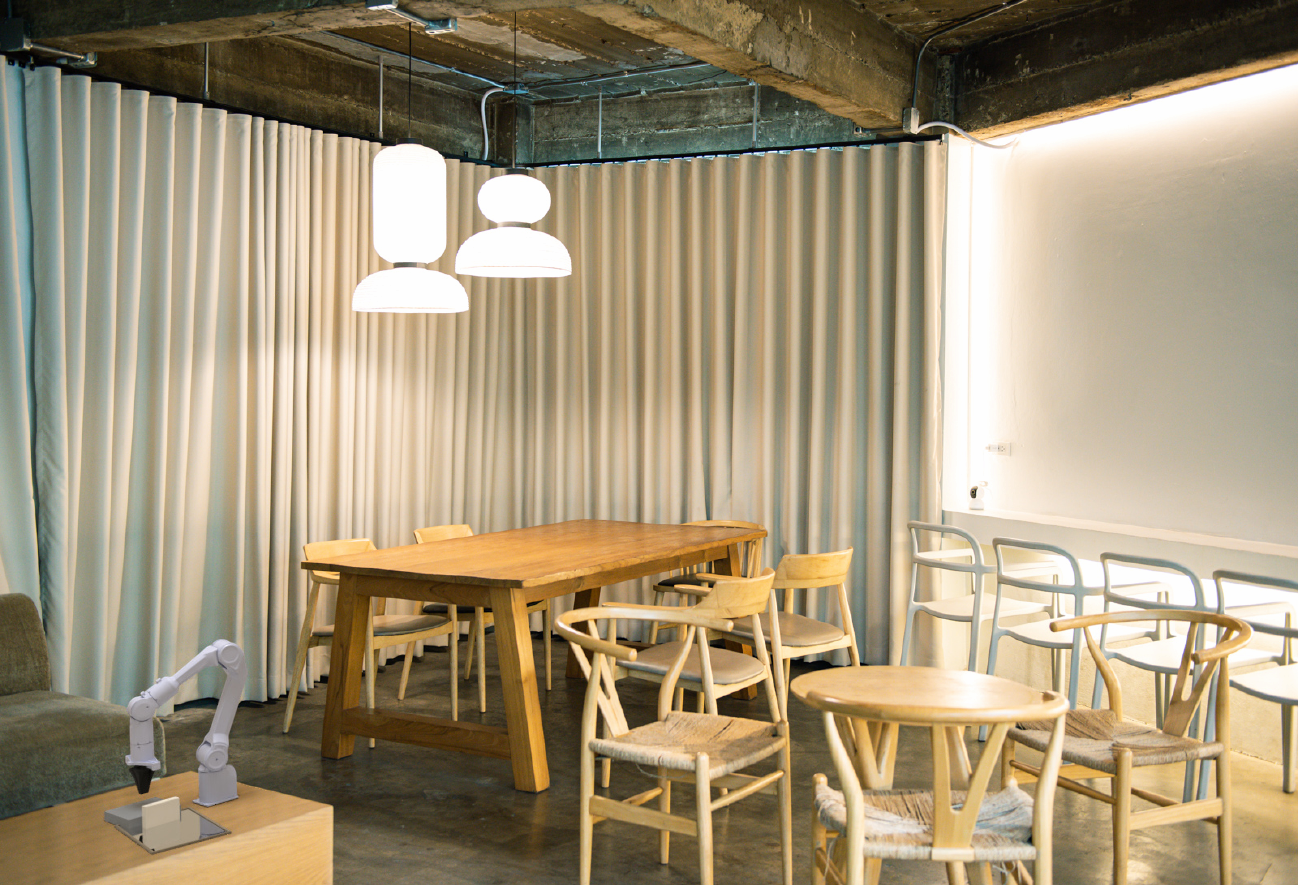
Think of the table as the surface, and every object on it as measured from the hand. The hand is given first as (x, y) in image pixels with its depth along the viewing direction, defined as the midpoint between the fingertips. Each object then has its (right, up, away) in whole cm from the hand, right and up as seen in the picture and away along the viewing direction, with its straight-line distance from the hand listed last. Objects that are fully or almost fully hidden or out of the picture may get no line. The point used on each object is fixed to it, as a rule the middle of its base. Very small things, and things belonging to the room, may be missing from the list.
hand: (143, 793), depth 284 cm
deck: (+1, -6, -2) cm, 6 cm away
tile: (+7, -3, -7) cm, 11 cm away
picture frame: (+13, -6, -12) cm, 19 cm away
